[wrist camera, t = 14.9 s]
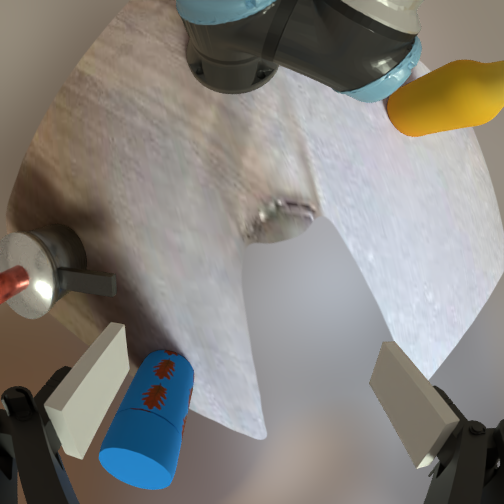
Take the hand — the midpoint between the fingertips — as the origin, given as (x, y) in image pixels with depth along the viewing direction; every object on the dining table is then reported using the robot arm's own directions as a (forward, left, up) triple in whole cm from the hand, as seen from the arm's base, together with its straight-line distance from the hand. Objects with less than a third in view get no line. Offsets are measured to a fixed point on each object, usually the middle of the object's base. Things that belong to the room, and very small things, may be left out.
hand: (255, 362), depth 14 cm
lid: (+7, -35, -24) cm, 43 cm away
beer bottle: (-25, +26, -35) cm, 50 cm away
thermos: (+28, -13, -35) cm, 47 cm away
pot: (+7, -30, -35) cm, 47 cm away
